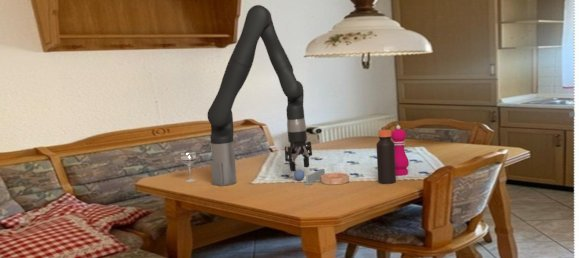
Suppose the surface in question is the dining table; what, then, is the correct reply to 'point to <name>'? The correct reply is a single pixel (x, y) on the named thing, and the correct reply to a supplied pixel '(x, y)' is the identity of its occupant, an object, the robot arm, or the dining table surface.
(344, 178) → the bowl
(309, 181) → the fence
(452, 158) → the dining table surface
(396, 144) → the pepper mill
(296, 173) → the ball
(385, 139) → the bottle
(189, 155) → the wineglass
